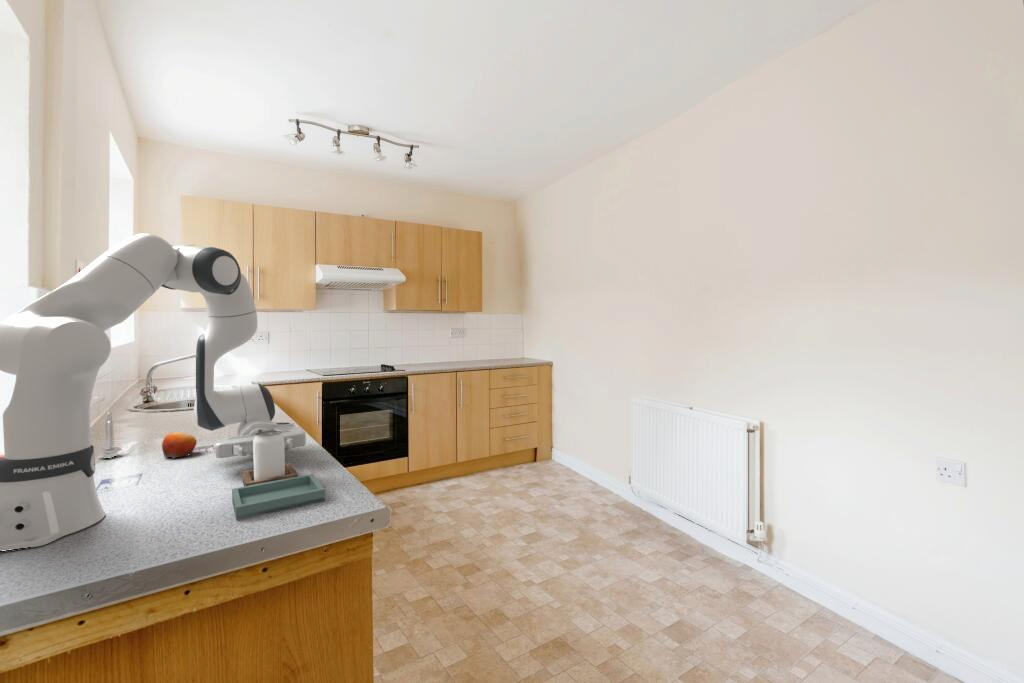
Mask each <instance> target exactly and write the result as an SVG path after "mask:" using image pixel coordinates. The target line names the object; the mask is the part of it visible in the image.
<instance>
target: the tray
mask: <svg viewBox="0 0 1024 683" xmlns="http://www.w3.org/2000/svg"><path fill="white" fill-rule="evenodd" d="M325 490H326V489H325V488H324V486H323V485H322V483H320V481H319V480H318V479H317V478H316V476H315V475H314V474H313V473H311V474H306V475H305V474H303V475H298V477H293V478H288V479H282V480H277V481H272V482H266V483H261V484H255V485H250V486H245V487H244V486H240V487H234V488H231V499H232V500H231V502H232V505H233V506H232V507H233V509H234V515H235V519H236V521H241V520H244V519H249V518H254V517H258V516H259V517H260V516H263V515H269V514H271V513H277V512H281V511H286V510H290V509H291V510H292V509H295V508H300V507H303V506H308V505H313V504H317V503H322V502H325V501H326V492H325Z"/></svg>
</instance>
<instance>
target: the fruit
mask: <svg viewBox="0 0 1024 683" xmlns="http://www.w3.org/2000/svg"><path fill="white" fill-rule="evenodd" d="M196 446H197V439H196V437H195V436H193V435H192V434H187V433H183V432H179V431H175V432H172V433H168V434H167V435H165V436H164V438H163V440H162V443H161V449H162V453H163V457H165V458H169V457H171V458H172V460H173V459H174V460H175V459H176V458H178V457H179V458H180V457H186V455H188V454H190V455H191V454H192V453H193V452H194V450H195V448H196ZM188 456H189V455H188Z"/></svg>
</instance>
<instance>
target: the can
mask: <svg viewBox="0 0 1024 683" xmlns="http://www.w3.org/2000/svg"><path fill="white" fill-rule="evenodd" d="M285 453H286V450H285V447H284V436H283V435H282V431H280V430H268V431H262V432H258V433H256V434H255V438H254V440H253V455H252V457H253V469H254V480H260V479H266V478H271V477H277V476H282V475H285V464H286V460H285V458H286V457H285V456H286V454H285Z"/></svg>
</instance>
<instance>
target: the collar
mask: <svg viewBox="0 0 1024 683" xmlns="http://www.w3.org/2000/svg"><path fill="white" fill-rule="evenodd" d="M241 472H242V474H241V475H242V477H241V478H242V484H244V485H243V487H245V486H250V485H255V484H261V483H266V482H272V481H277V480H282V479H288V478H293V477H299V473H298V472H297V470H296V469H295V467H294V466H293V465H292V463H291V462H288V463H285V475H282V476H277V477H271V478H266V479H260V480H254V468H252V469H246V470H242V471H241Z"/></svg>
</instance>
